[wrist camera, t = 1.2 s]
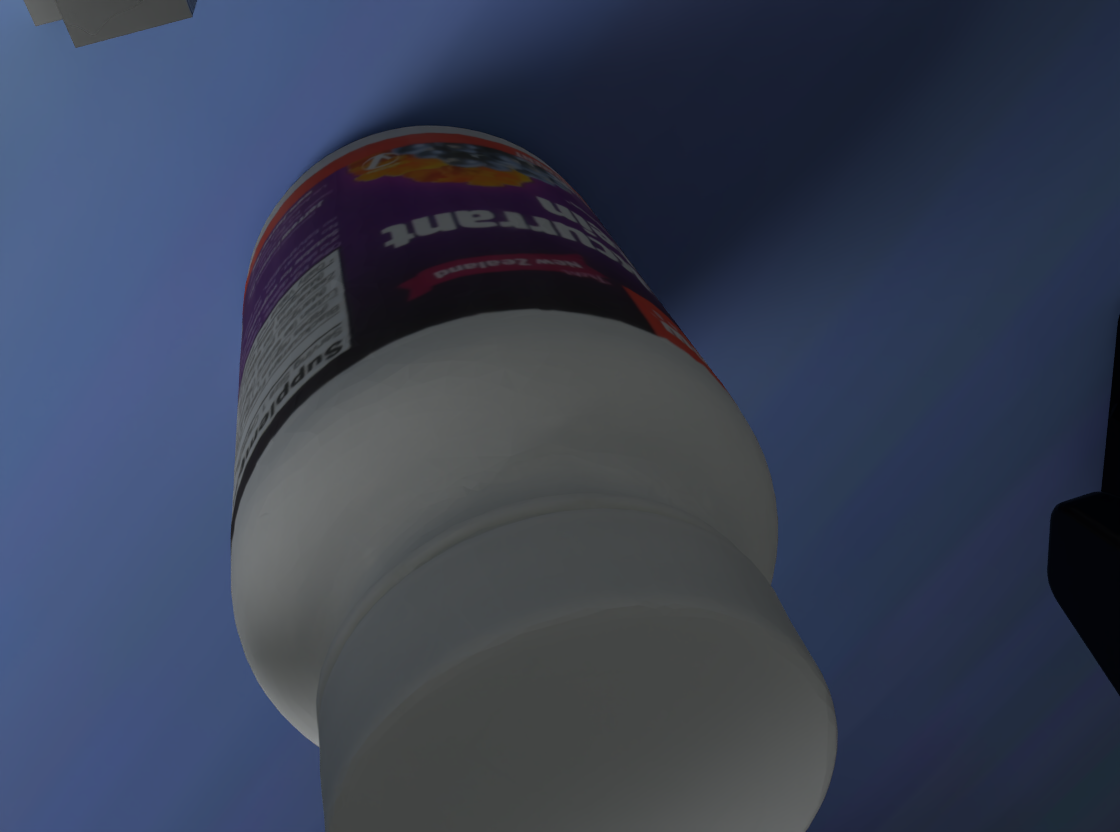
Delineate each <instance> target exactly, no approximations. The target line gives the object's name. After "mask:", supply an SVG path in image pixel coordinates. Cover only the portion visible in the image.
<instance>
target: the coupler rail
mask: <svg viewBox="0 0 1120 832" xmlns="http://www.w3.org/2000/svg"><path fill="white" fill-rule="evenodd" d="M24 2H25V4H26V6H27V8H28V11H29V13H30V15H31V17H32V19H33V21H34V24H35V26H39V25H42V24H46V23H50V22H54V21H58V20H61V19H63V21H64V23H65V25H66V27H67V30H68V32H69V34H70V36H71V39H72V41H73V43H74V45H75V48H77V47H81V46H85V45H89V44H92V43H96V42H100V41H104V40H107V39H111V38H115V37H119V36H123V35H126V34H130V33H134V32H138V31H141V30H145V29H149V28H153V27H157V26H160V25H164V24H168V23H172V22H175V21H179V20H183V19H187V18H191V17H192V16H193V13H194V9H195V6H196V3H197V0H24Z"/></svg>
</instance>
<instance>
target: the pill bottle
mask: <svg viewBox="0 0 1120 832" xmlns="http://www.w3.org/2000/svg"><path fill="white" fill-rule="evenodd" d="M777 543H778V516H777V509H776V499H775V493H774V490H773V484H772V479H771V475H770V472H769V469H768V466H767V463H766V460H765V457H764V454H763V452H762V450H761V448H760V445H759V443H758V441H757V439H756V437H755V435H754V433H753V431H752V430H751V428H750V426H749V424H748V423H747V421H746V419H745V418H744V416H743V415H742V413H741V412H740V410H739V408H738V406H737V404H736V403H735V402H734V400H733V399H732V397H731V396H730V394H729V393H728V391H727V390H726V389H725V387H724V386H723V384H722V383H721V382H720V380H719V379H718V378H717V377H716V376H715V374H714V373H713V372H712V370H711V369H710V367H709V366H708V365H707V363H706V362H705V361H704V359H703V358H702V357H701V356H700V354H699V353H698V352H697V350H696V349H695V348H694V346H693V345H692V344H691V342H690V341H689V340H688V338H687V337H686V336H685V335H684V333H683V332H682V331H681V329H680V328H679V327H678V325H677V324H676V323H675V321H674V320H673V319H672V317H671V316H670V315H669V313H668V312H667V311H666V309H665V308H664V307H663V305H662V304H661V303H660V302H659V300H658V299H657V297H656V296H655V295H654V293H653V292H652V291H651V289H650V288H649V287H648V285H647V284H646V283H645V281H644V280H643V279H642V277H641V276H640V275H639V273H638V272H637V270H636V269H635V268H634V266H633V265H632V264H631V262H630V261H629V260H628V258H627V257H626V256H625V254H624V253H623V252H622V250H621V249H620V248H619V246H618V245H617V244H616V242H615V241H614V240H613V239H612V237H611V236H610V234H609V233H608V232H607V230H606V229H605V228H604V226H603V225H602V224H601V222H600V221H599V219H598V218H597V216H596V215H595V214H594V213H593V211H592V210H591V209H590V207H589V206H588V205H587V204H586V202H585V201H584V200H583V199H582V198H581V196H580V195H579V194H578V193H577V192H576V191H575V190H574V189H573V188H572V187H571V186H570V185H569V184H568V183H567V182H566V181H565V180H564V179H563V178H562V177H561V176H560V175H559V174H558V173H557V172H556V171H555V170H553V169H552V168H551V167H550V166H548V165H547V164H546V163H545V162H543V161H542V160H541V159H539V158H538V157H536V156H535V155H533V154H532V153H530V152H528V151H527V150H525V149H524V148H521V147H519V146H517V145H515V144H513V143H511V142H509V141H506V140H504V139H502V138H499V137H495V136H492V135H489V134H486V133H482V132H478V131H474V130H469V129H464V128H457V127H449V126H412V127H403V128H398V129H393V130H388V131H384V132H380V133H377V134H373V135H370V136H368V137H365V138H362V139H359V140H357V141H355V142H353V143H350V144H348V145H346V146H344V147H342V148H340V149H338V150H336V151H335V152H333V153H331V154H329V155H328V156H326V157H325V158H323V159H322V160H321V161H319V162H318V163H316V164H315V165H314V166H312V167H311V168H310V169H309V170H308V171H306V172H305V173H304V174H303V175H302V176H301V177H300V178H299V179H298V180H297V181H296V182H295V183H294V184H293V185H292V186H291V187H290V188H289V190H288V191H287V192H286V193H285V195H284V196H283V197H282V198H281V200H280V201H279V202H278V204H277V205H276V206H275V208H274V209H273V211H272V212H271V214H270V216H269V217H268V219H267V220H266V222H265V224H264V227H263V229H262V231H261V233H260V235H259V237H258V240H257V242H256V245H255V248H254V251H253V254H252V257H251V261H250V266H249V271H248V276H247V281H246V286H245V294H244V304H243V319H242V342H241V356H240V373H239V394H238V413H237V432H236V452H235V469H234V493H233V511H232V523H231V593H232V601H233V609H234V616H235V622H236V626H237V631H238V634H239V637H240V640H241V643H242V646H243V649H244V653H245V656H246V658H247V660H248V662H249V664H250V667H251V669H252V671H253V673H254V675H255V677H256V679H257V681H258V682H259V684H260V686H261V687H262V689H263V690H264V692H265V693H266V695H267V696H268V698H269V699H270V700H271V702H272V703H273V704H274V705H275V707H276V708H277V709H278V710H279V712H280V713H281V714H282V715H283V716H284V717H285V718H286V719H287V720H288V721H289V722H290V723H291V724H292V725H293V726H294V727H295V728H296V729H297V730H299V731H300V732H301V733H302V734H303V735H304V736H305V737H306V738H308V739H309V740H310V741H312V742H313V743H314V744H316V745H317V746H318V747H320V777H321V789H322V799H323V809H324V819H325V832H806V830H807V829H808V827H809V826H810V824H811V822H812V820H813V819H814V817H815V815H816V813H817V812H818V810H819V808H820V806H821V804H822V802H823V800H824V798H825V795H826V792H827V789H828V787H829V784H830V781H831V777H832V773H833V769H834V765H835V759H836V753H837V724H836V717H835V711H834V706H833V702H832V698H831V695H830V691H829V689H828V687H827V685H826V682H825V680H824V678H823V675H822V673H821V671H820V670H819V668H818V666H817V665H816V663H815V661H814V660H813V658H812V656H811V655H810V653H809V651H808V650H807V648H806V646H805V645H804V643H803V641H802V640H801V638H800V637H799V635H798V633H797V632H796V630H795V628H794V627H793V625H792V623H791V622H790V620H789V618H788V616H787V614H786V612H785V610H784V608H783V606H782V605H781V603H780V601H779V599H778V597H777V595H776V593H775V591H774V590H773V588H772V587H771V582H772V578H773V573H774V567H775V562H776V555H777Z"/></svg>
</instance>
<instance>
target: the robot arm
mask: <svg viewBox="0 0 1120 832" xmlns="http://www.w3.org/2000/svg"><path fill="white" fill-rule="evenodd" d="M1047 574H1048V581H1049V584H1050V588H1051V590H1052V592H1053V595H1054V597H1055V598H1056V600H1057V602H1058V603H1059V605H1060V606H1061V608H1062V609H1063V611H1064V612H1065V614H1066V615H1067V617H1068V618H1069V620H1070V622H1071V623H1072V625H1073V626H1074V628H1075V629H1076V631H1077V632H1078V634H1079V635H1080V637H1081V638H1082V640H1083V641H1084V643H1085V644H1086V646H1087V647H1088V649H1089V650H1090V652H1091V653H1092V655H1093V656H1094V658H1095V659H1096V661H1097V662H1098V664H1099V665H1100V667H1101V668H1102V670H1103V671H1104V673H1105V674H1106V676H1107V677H1108V679H1109V681H1110V682H1111V684H1112V685H1113V687H1114V688H1115V690H1116V691H1117V693H1118V694H1119V696H1120V316H1119V319H1118V327H1117V337H1116V347H1115V357H1114V367H1113V377H1112V388H1111V398H1110V408H1109V418H1108V428H1107V438H1106V448H1105V458H1104V469H1103V479H1102V489H1101V492H1092V493H1089V494H1086V495H1083V496H1080V497H1077V498H1073V499H1070V500H1067V501H1064V502H1061V503H1059V504H1058V505H1056V506H1055V508H1054V510H1053V511H1052V513H1051V519H1050V534H1049V550H1048V566H1047Z"/></svg>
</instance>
